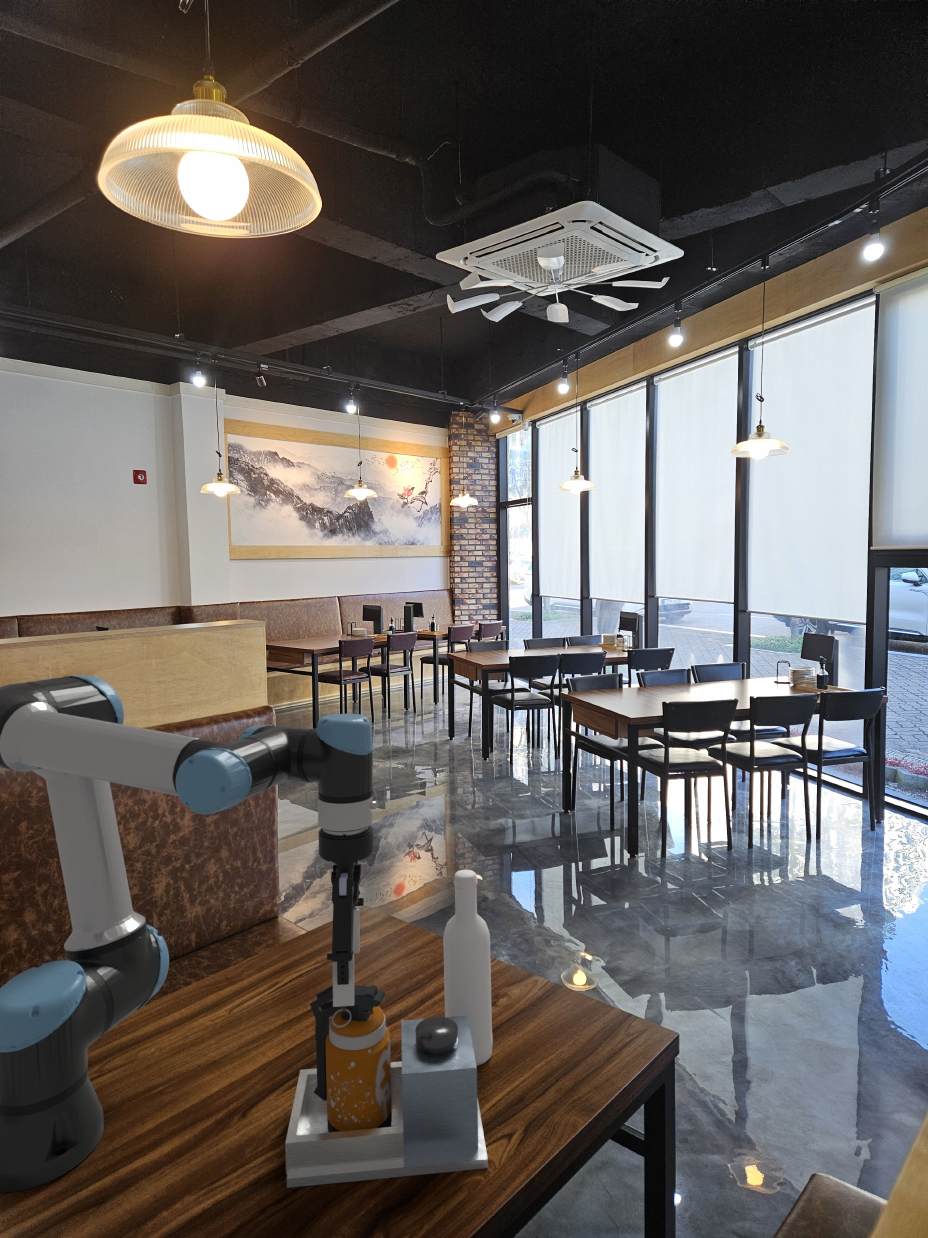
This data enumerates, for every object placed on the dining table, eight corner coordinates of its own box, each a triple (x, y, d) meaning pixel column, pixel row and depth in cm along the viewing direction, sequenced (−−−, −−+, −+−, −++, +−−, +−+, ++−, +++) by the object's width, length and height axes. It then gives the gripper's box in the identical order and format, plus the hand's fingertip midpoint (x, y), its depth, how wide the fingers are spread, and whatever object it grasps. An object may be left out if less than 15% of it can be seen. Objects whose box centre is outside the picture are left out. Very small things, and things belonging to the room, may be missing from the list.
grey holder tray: (285, 1188, 90) (282, 1079, 90) (301, 1100, 106) (299, 1007, 106) (487, 1168, 93) (485, 1062, 92) (474, 1085, 108) (472, 994, 108)
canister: (380, 1155, 94) (376, 1007, 93) (302, 1144, 96) (299, 999, 95) (399, 1107, 102) (396, 972, 102) (328, 1098, 105) (325, 965, 104)
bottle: (484, 1072, 111) (480, 885, 111) (438, 1063, 114) (434, 880, 113) (498, 1042, 119) (495, 867, 118) (454, 1034, 122) (451, 862, 121)
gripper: (369, 858, 86) (371, 1029, 86) (375, 800, 110) (376, 933, 111) (307, 861, 85) (309, 1033, 86) (327, 801, 110) (328, 935, 110)
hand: (347, 977), depth 98 cm, fingers open, 13 cm apart
